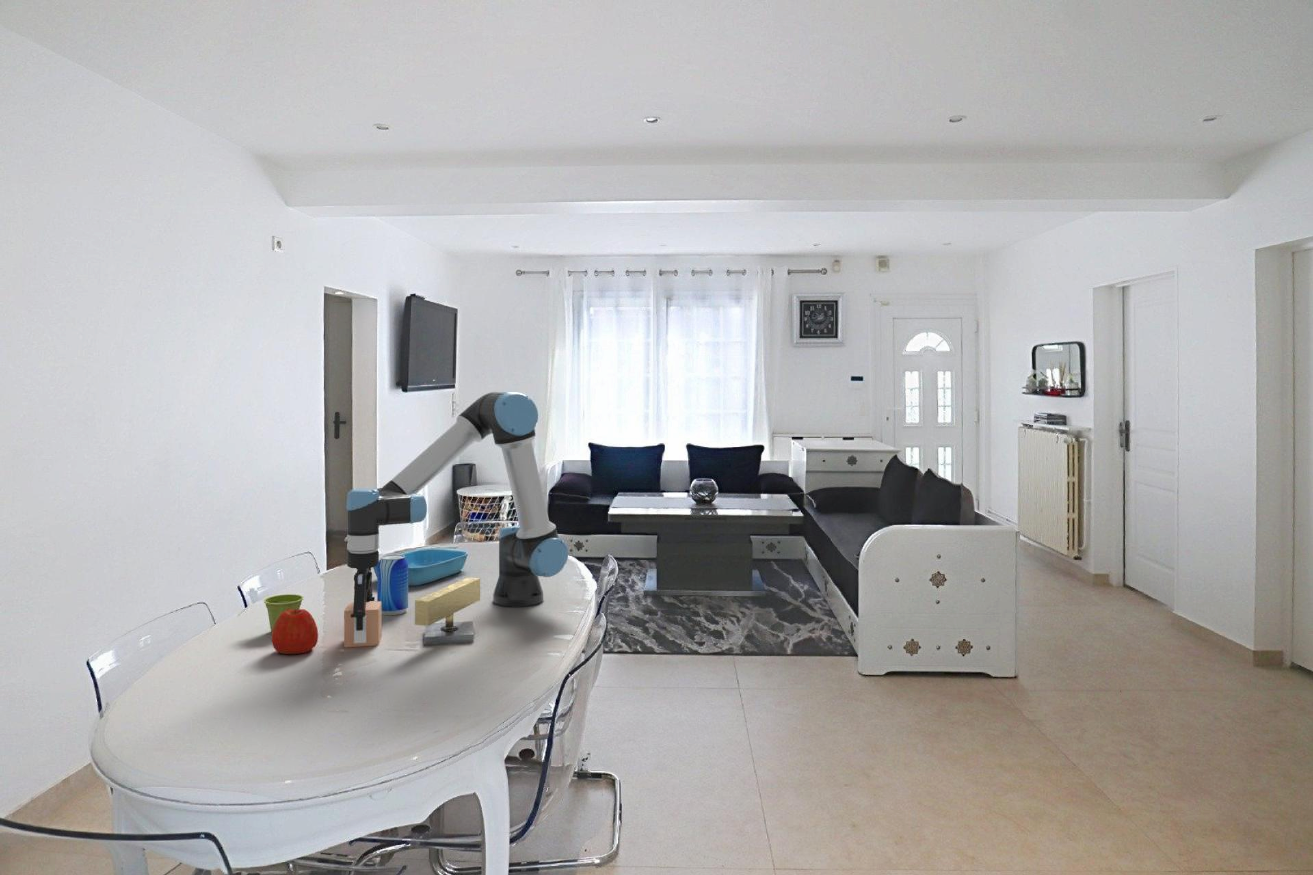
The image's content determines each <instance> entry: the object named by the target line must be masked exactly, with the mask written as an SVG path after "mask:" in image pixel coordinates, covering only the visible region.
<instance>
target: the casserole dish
mask: <svg viewBox="0 0 1313 875" xmlns="http://www.w3.org/2000/svg"><path fill="white" fill-rule="evenodd" d="M397 555H404V556H405V560H406V561H407V563H408V586H413V587H414V586H422V585H425V584H428V583H432V582H435V581H438V580H441V579H444V578H447V577H450V576H453V575H455V574H458V573H459V572H460V571H462V570H463V568H464V566H465V564H466V561H467V558H468V556H469V552H468V551H466V550H461V549H455V548H421V549H415V550H411V551H407V552H402V553H399V554H397ZM380 560H381V558H379V561H380ZM372 569H373V572H374V574H375V577H376V578H377V566H376V567H372Z"/></svg>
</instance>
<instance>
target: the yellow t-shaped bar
mask: <svg viewBox="0 0 1313 875" xmlns="http://www.w3.org/2000/svg"><path fill="white" fill-rule="evenodd" d="M480 601H481V578H480V577H479V578H478V577H466V578H464V579H461V580H459V581H457V582H454V583H452V584H449V585H447V586H445V587H443V588H441V589H438V590H435V591H433V592H432V593H429V594H426V595H424V596H421V597H420V598H417V599H415V600H414V626H415V625H416V626H425V627H426V626H429V625H431V624H433V623H438V622H439V621H441V620H443V619H445V622H444V623H445V627H447V628H451V627H453V622H454V614H455V613H457V612H459V611H461V610H463V609H465V608H467V607H469V606H471V605H474V604H476V603H477V602H480Z"/></svg>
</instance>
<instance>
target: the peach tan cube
mask: <svg viewBox="0 0 1313 875" xmlns="http://www.w3.org/2000/svg"><path fill="white" fill-rule="evenodd" d="M353 607H354V602H348V603H347V605H346V607H345V609H344V610H343V631H344V632H343V634H344V635H343V636H344V637H343V638H344V639H343V645H344V646H343V647H344V648H353V647H354V648H355V647H356V648H357V647H371V646H379V645H380V641H381V638H382V632H383V630H382V624H383V623H382V621H383V620H382V618H383V617H382V601H379V602H377V601H370V602H366V609H365V613H366V615H365V616H366V643H354V617H351V614H353Z"/></svg>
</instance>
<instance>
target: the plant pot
mask: <svg viewBox="0 0 1313 875" xmlns="http://www.w3.org/2000/svg"><path fill="white" fill-rule="evenodd" d="M303 600H304V596H303V595H301V594H293V593H291V594H289V593H287V594H276V595H272V596H269V597H266V598H264V600H263V603H264V604H265V607H266V609H267V614H268V619H269V628H270V633H271V634H272V630H273V627H274V625H275V623H276V621H277V619H278V618H279V616H280V615H281V614H282V613H283V612H285V611H288V610H292V609H301V606H302V601H303Z"/></svg>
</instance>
